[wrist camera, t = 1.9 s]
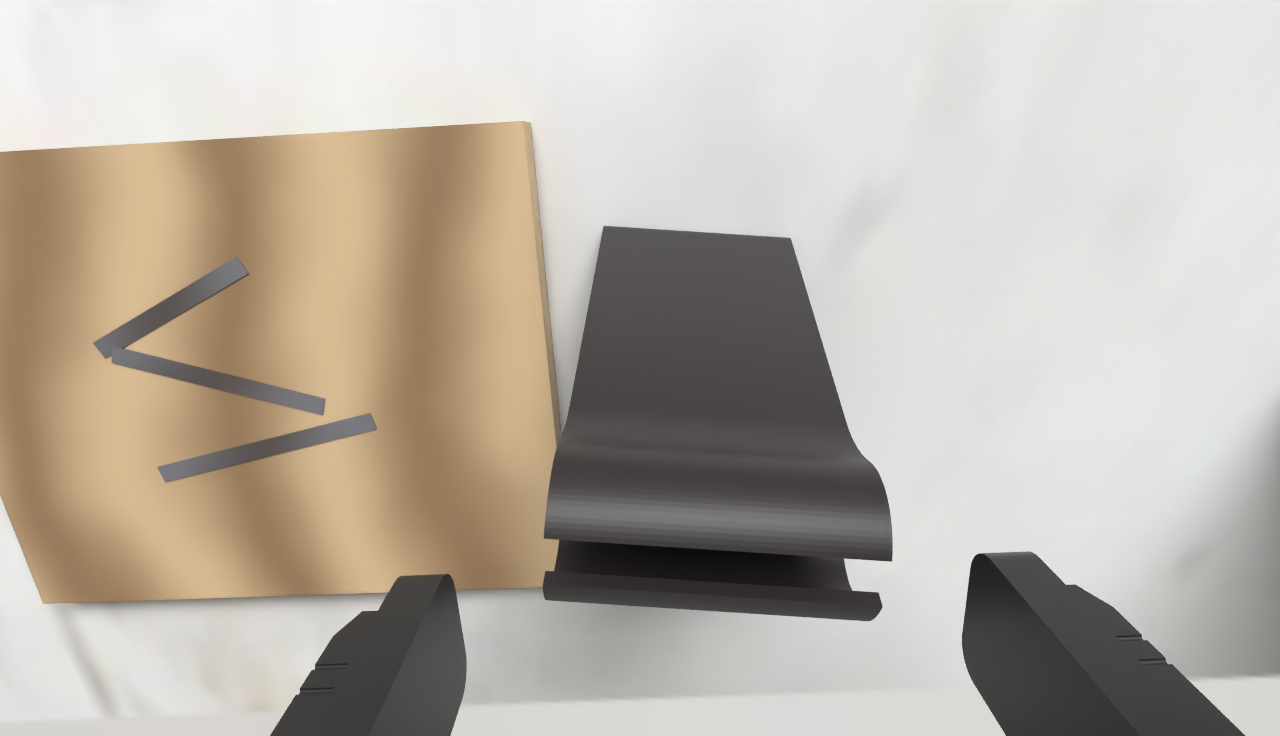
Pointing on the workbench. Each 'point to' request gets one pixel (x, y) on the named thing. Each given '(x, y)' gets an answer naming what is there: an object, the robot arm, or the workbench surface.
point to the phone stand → (709, 440)
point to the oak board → (277, 364)
